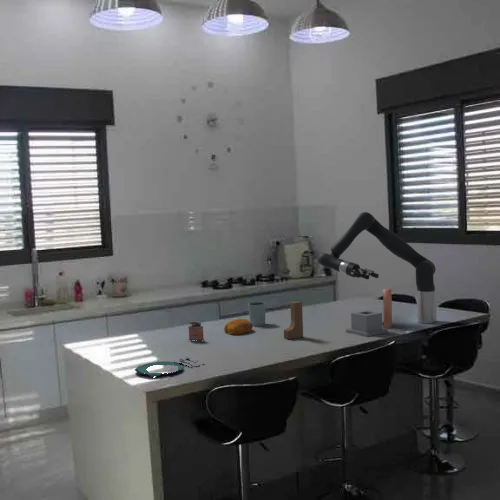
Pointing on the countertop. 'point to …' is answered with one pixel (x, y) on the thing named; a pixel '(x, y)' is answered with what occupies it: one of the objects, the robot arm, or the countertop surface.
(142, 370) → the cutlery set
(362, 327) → the block
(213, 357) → the countertop surface
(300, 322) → the wooden block
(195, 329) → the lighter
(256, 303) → the drinking glass
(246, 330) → the bread loaf
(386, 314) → the peg
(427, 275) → the robot arm
